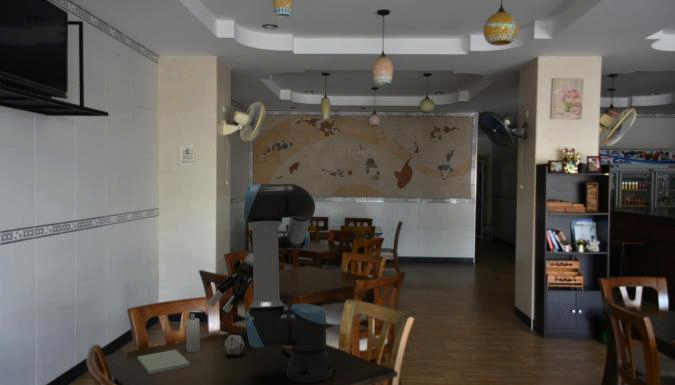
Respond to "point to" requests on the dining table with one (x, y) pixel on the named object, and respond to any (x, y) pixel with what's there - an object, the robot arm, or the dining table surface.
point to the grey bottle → (192, 334)
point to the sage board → (163, 361)
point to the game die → (234, 345)
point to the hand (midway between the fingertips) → (217, 308)
